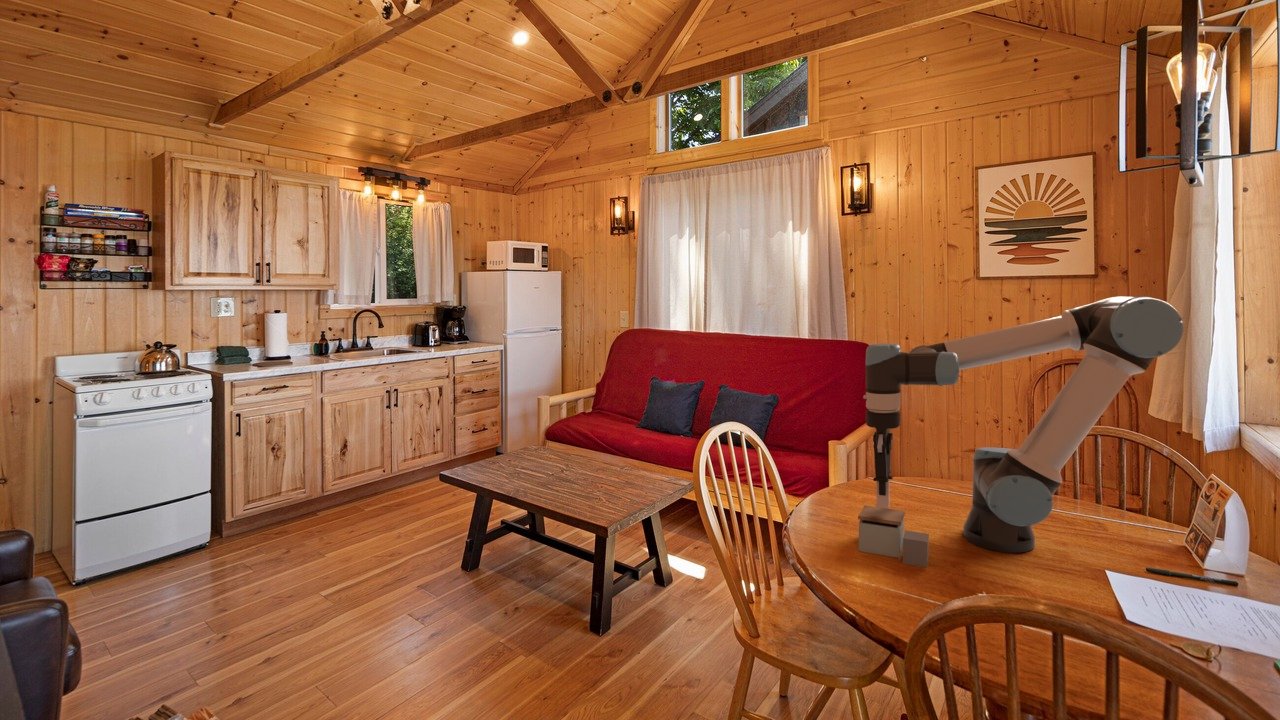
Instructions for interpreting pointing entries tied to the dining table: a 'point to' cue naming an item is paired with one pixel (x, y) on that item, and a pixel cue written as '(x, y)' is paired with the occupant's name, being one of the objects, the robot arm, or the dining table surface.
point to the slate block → (915, 548)
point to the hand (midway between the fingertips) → (883, 506)
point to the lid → (881, 515)
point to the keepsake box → (881, 538)
